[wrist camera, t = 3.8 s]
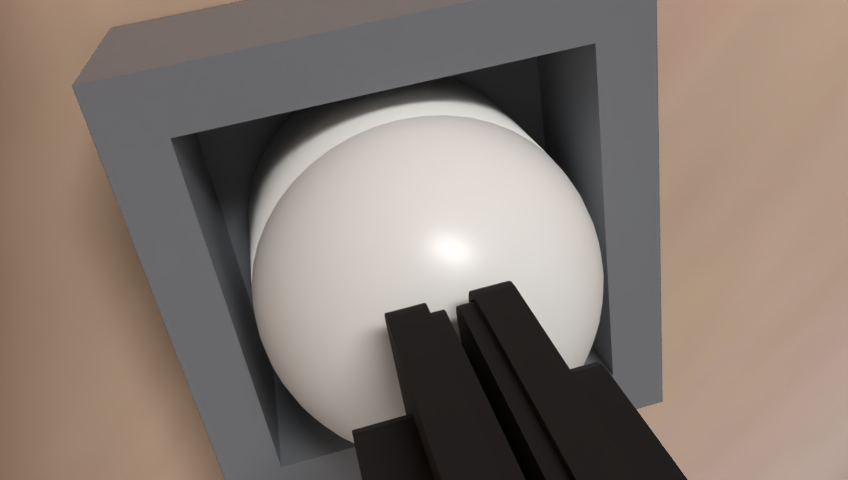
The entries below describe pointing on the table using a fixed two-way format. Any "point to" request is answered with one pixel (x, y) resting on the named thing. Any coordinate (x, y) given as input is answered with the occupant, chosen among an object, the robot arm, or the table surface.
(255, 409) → the housing
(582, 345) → the white round ball
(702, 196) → the table surface
